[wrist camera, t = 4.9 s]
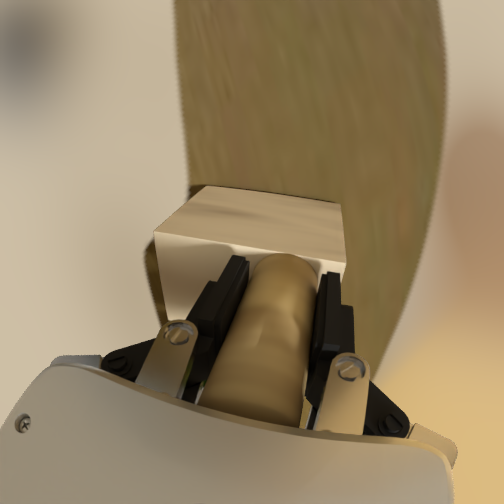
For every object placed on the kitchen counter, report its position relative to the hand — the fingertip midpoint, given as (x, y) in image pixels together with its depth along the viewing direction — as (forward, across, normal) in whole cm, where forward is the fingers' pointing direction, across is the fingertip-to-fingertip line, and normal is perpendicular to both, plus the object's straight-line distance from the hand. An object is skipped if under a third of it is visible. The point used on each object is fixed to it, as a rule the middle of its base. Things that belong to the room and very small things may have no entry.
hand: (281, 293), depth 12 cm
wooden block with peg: (+8, +2, +2) cm, 9 cm away
